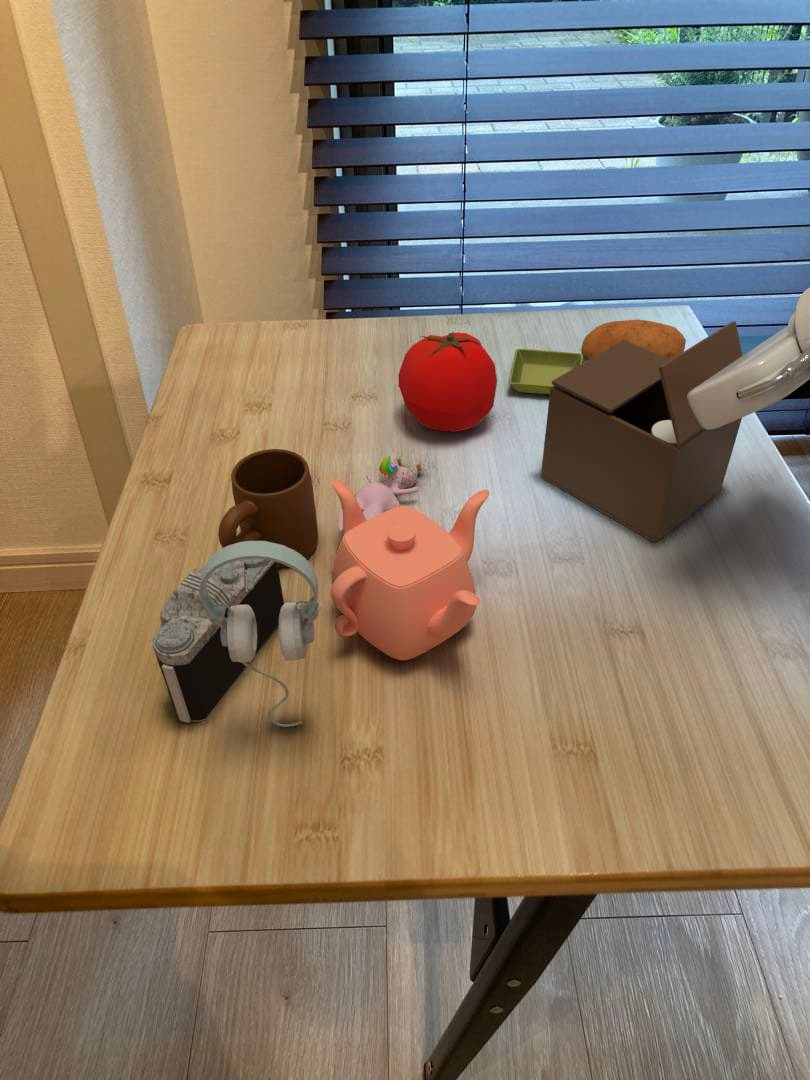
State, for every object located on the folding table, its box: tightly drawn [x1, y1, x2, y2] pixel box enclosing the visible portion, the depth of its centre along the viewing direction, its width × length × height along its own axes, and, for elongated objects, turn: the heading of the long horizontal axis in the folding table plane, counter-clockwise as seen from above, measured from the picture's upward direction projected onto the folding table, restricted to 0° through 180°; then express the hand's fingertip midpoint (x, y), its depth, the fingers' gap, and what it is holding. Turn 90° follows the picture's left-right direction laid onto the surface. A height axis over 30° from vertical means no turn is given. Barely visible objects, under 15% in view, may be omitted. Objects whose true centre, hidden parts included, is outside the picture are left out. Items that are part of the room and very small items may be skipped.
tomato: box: [397, 331, 498, 433], centre depth 98 cm, size 12×12×11 cm
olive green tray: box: [508, 348, 584, 396], centre depth 107 cm, size 9×9×2 cm
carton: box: [540, 340, 743, 544], centre depth 88 cm, size 15×12×12 cm
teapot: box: [330, 478, 490, 661], centre depth 74 cm, size 14×14×11 cm
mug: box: [217, 448, 319, 568], centre depth 81 cm, size 12×8×9 cm, turn 153°
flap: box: [659, 321, 744, 444], centre depth 78 cm, size 7×12×1 cm
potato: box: [580, 319, 687, 361], centre depth 107 cm, size 7×13×7 cm, turn 61°
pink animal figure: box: [336, 454, 424, 532], centre depth 88 cm, size 6×6×15 cm
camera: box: [151, 559, 285, 723], centre depth 72 cm, size 15×7×10 cm, turn 155°
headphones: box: [199, 541, 322, 728], centre depth 63 cm, size 8×4×20 cm, turn 92°
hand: (712, 389), depth 78 cm, fingers closed, pressing on flap
